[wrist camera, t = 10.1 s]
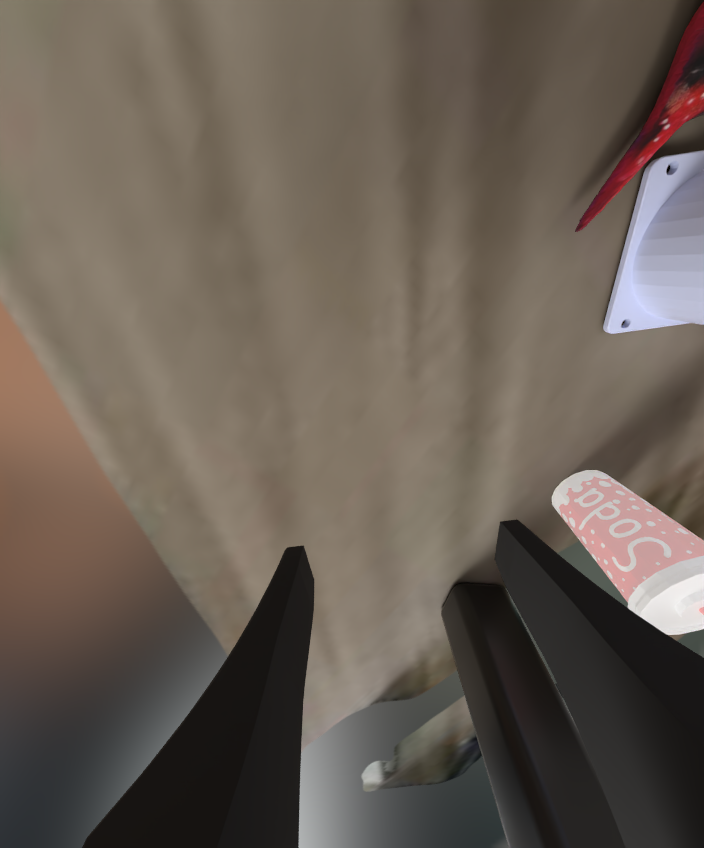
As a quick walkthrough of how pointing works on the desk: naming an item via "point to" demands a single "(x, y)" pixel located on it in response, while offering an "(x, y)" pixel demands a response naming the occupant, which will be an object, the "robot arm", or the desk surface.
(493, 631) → the wine bottle
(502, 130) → the desk surface
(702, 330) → the desk surface
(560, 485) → the beverage cup
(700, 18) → the decorative bird figurine
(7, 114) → the desk surface
